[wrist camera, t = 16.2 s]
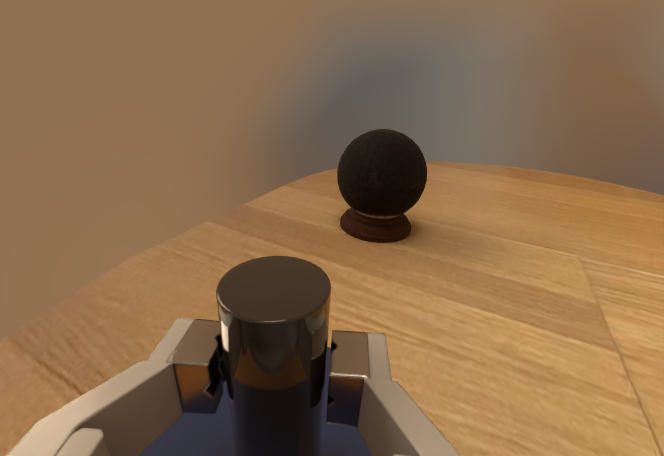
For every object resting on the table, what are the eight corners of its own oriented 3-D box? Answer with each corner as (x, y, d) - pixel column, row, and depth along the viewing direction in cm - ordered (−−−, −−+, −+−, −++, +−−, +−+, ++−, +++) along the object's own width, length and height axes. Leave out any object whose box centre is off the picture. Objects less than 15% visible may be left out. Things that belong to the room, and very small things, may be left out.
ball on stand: (430, 225, 54) (449, 132, 48) (391, 255, 44) (408, 143, 38) (363, 204, 61) (371, 120, 55) (317, 226, 52) (320, 127, 45)
